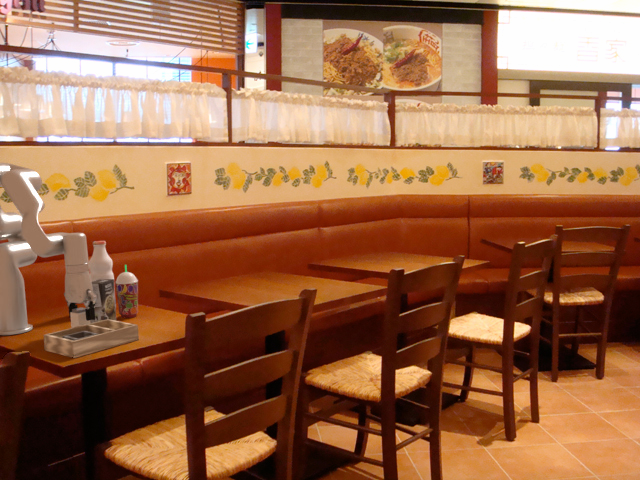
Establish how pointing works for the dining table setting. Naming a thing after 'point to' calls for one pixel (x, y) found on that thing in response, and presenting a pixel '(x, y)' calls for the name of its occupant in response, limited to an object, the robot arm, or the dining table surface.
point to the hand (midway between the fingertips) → (82, 318)
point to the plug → (78, 317)
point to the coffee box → (104, 300)
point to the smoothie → (127, 294)
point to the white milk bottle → (100, 263)
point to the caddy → (90, 338)
